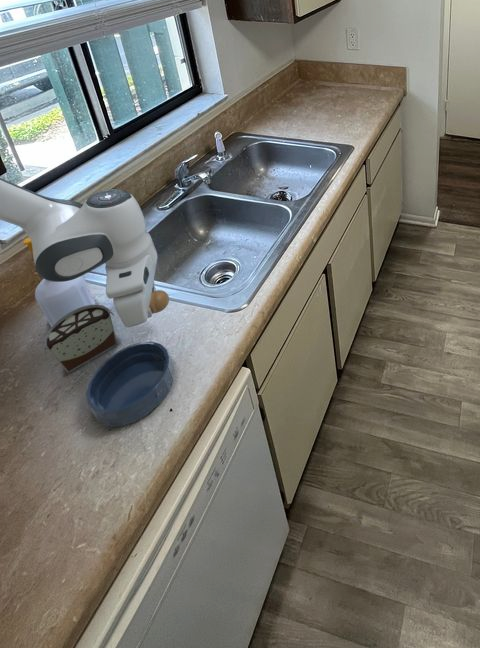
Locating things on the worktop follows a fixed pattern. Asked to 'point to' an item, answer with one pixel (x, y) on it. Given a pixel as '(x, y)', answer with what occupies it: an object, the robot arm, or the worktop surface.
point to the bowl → (130, 384)
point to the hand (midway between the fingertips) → (150, 305)
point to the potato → (159, 301)
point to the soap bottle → (61, 295)
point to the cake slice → (81, 336)
